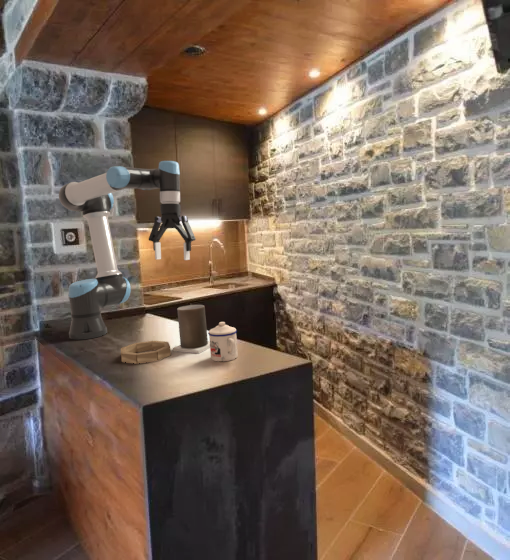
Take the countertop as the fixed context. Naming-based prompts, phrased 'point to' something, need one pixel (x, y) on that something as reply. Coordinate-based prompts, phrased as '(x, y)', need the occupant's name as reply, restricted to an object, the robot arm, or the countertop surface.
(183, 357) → the countertop surface
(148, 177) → the robot arm
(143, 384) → the countertop surface
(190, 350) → the coaster
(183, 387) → the countertop surface
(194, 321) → the pillar candle
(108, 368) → the countertop surface
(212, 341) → the teacup with lid
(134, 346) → the holder ring
